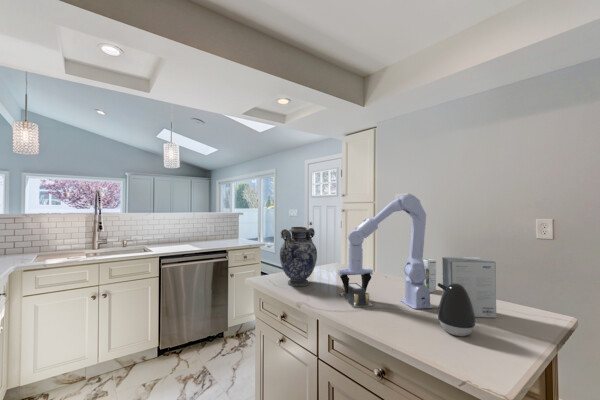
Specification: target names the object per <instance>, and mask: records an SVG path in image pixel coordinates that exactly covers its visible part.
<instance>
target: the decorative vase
mask: <svg viewBox="0 0 600 400" xmlns="http://www.w3.org/2000/svg"><path fill="white" fill-rule="evenodd" d="M314 236H315V229H314V227H313V228H312V227H309V228H307V227H304V226H292V227H291V228H290V229H289V230H288V229H287V228H284V229H282V230H281V231H280V238H281V239H283V241H284V242H283V244H281V247H280V250H279V259H280V260H279V261H280V264H281V268H282V270H283V272H284V274H285V275H286V276H287V277H288V279H289V280H287V285H288V286H291V287H305V286H308V285H309V280H308V278H309V277H311V275H312V273H313V272H314V270H315V267H316V264H317V260H318V252H317V251H318V249H317V246H316V245H315V243H314V241H313V239H312V238H314Z"/></svg>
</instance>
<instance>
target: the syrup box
mask: <svg viewBox="0 0 600 400" xmlns="http://www.w3.org/2000/svg"><path fill="white" fill-rule="evenodd" d="M423 262H424V270H425V273H426V279H425V280H424V283H425V286H426V287H428V288H429V290H430V293H434V292H437V260H436V259H430V258H427V257H423Z"/></svg>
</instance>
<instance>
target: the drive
mask: <svg viewBox="0 0 600 400" xmlns="http://www.w3.org/2000/svg"><path fill="white" fill-rule="evenodd" d="M348 289H349V292H348V294H346V293H345V295H346V296H347V297H348V298H349V299H350V300H351V301H352V302H353V303H354V294H358V302H365V293H366V292H365V289H364V288H363V287H362V285H360V284H358V283H357V282H351V283H350V282H349V285H348Z"/></svg>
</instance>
